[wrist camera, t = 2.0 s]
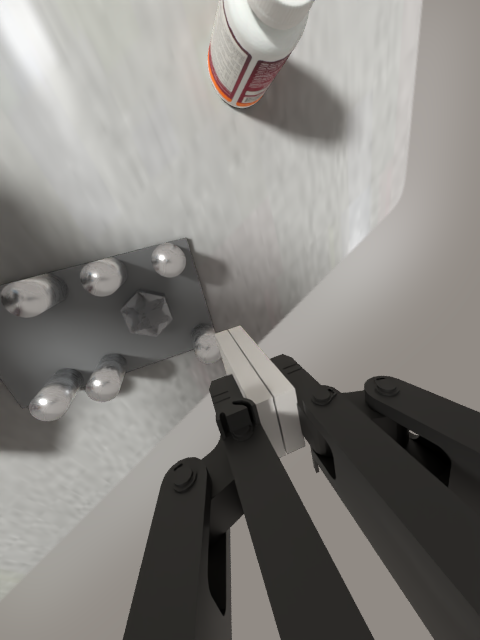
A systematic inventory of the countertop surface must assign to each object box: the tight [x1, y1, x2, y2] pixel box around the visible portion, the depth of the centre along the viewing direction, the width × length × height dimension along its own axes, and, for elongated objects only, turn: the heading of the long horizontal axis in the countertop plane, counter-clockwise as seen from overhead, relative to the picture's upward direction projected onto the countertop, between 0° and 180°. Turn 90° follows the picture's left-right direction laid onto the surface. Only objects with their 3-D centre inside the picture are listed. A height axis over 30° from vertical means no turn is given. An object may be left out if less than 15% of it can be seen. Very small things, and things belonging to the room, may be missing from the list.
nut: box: [120, 288, 173, 337], centre depth 27 cm, size 5×5×2 cm
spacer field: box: [1, 243, 221, 421], centre depth 25 cm, size 19×13×5 cm
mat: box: [0, 238, 214, 408], centre depth 27 cm, size 23×13×1 cm, turn 104°
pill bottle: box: [208, 0, 315, 108], centre depth 18 cm, size 6×6×11 cm
